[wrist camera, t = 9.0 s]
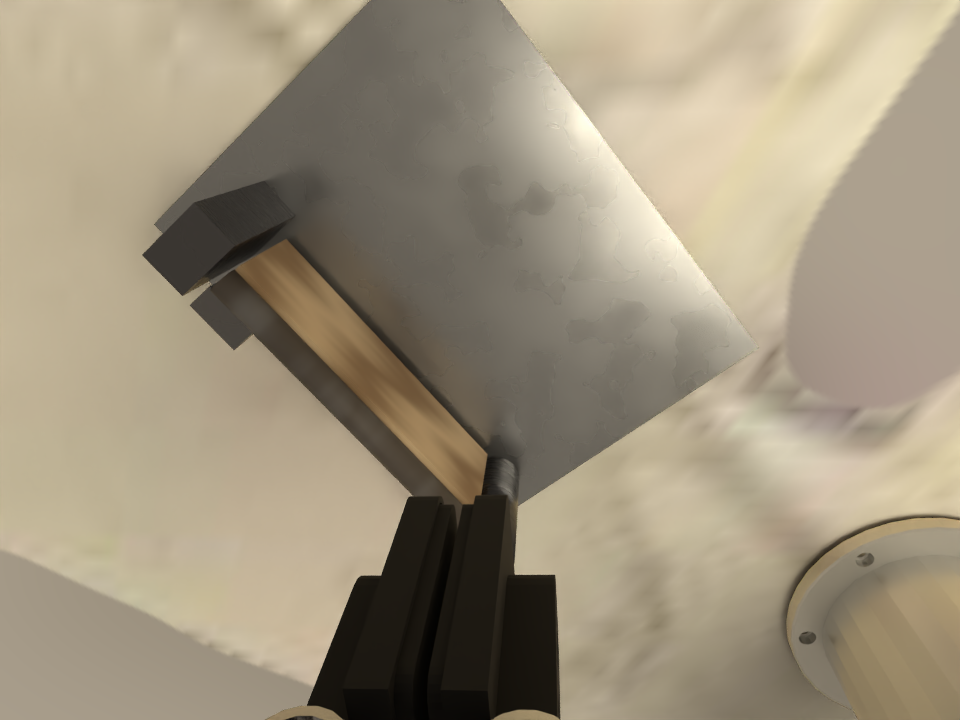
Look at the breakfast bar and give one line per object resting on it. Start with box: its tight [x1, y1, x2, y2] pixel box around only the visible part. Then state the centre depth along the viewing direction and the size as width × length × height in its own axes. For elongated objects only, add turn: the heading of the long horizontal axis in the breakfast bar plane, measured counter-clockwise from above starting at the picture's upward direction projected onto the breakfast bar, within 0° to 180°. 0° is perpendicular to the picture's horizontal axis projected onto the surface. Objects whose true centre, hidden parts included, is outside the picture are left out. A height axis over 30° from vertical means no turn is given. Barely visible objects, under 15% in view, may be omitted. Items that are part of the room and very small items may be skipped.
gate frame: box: [143, 0, 759, 560], centre depth 28 cm, size 22×18×7 cm
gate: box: [210, 239, 488, 528], centre depth 29 cm, size 14×2×6 cm, turn 41°
